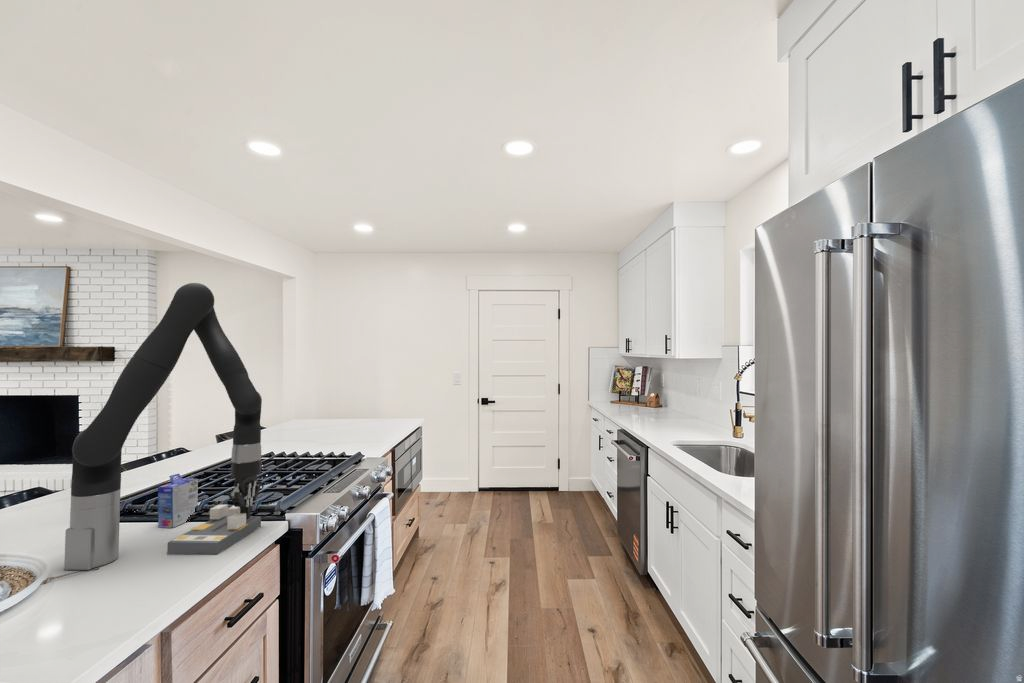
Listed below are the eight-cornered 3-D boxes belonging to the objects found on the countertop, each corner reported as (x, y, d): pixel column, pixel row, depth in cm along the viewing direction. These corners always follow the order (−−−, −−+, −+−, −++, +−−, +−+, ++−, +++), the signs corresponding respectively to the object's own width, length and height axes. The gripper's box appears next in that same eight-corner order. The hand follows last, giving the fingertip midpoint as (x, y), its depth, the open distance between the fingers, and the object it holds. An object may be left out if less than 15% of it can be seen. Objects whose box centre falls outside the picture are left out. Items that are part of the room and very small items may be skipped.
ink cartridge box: (182, 516, 148) (183, 470, 148) (198, 517, 147) (199, 471, 148) (155, 527, 138) (157, 478, 139) (172, 528, 138) (174, 479, 138)
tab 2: (237, 529, 128) (237, 518, 128) (227, 528, 128) (227, 517, 128) (246, 523, 132) (246, 513, 132) (236, 523, 132) (236, 513, 132)
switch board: (218, 554, 119) (218, 542, 119) (166, 554, 119) (166, 542, 120) (261, 526, 139) (262, 516, 139) (217, 526, 139) (217, 515, 140)
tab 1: (219, 519, 136) (219, 508, 136) (209, 519, 136) (210, 508, 136) (227, 514, 140) (228, 504, 140) (218, 514, 140) (218, 504, 140)
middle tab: (236, 519, 135) (236, 509, 136) (226, 519, 135) (226, 509, 136) (244, 514, 139) (244, 504, 140) (235, 514, 139) (235, 504, 140)
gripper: (247, 453, 141) (245, 511, 141) (218, 463, 128) (217, 527, 127) (271, 454, 141) (270, 511, 140) (245, 464, 128) (244, 527, 127)
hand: (245, 519), depth 134 cm, fingers closed
